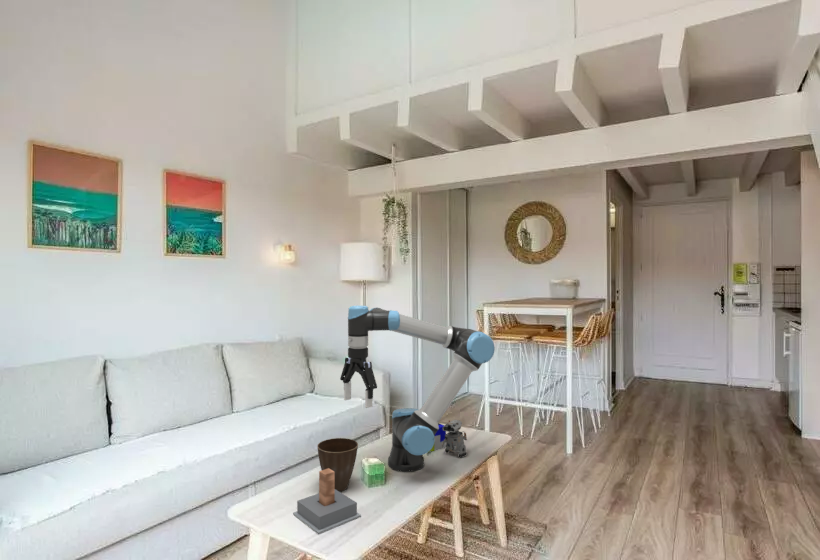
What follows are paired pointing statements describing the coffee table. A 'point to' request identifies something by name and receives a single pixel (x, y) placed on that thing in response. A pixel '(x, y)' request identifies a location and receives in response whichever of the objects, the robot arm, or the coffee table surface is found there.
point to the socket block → (326, 512)
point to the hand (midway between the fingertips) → (358, 403)
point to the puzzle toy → (439, 438)
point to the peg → (326, 487)
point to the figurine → (454, 438)
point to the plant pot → (338, 459)
